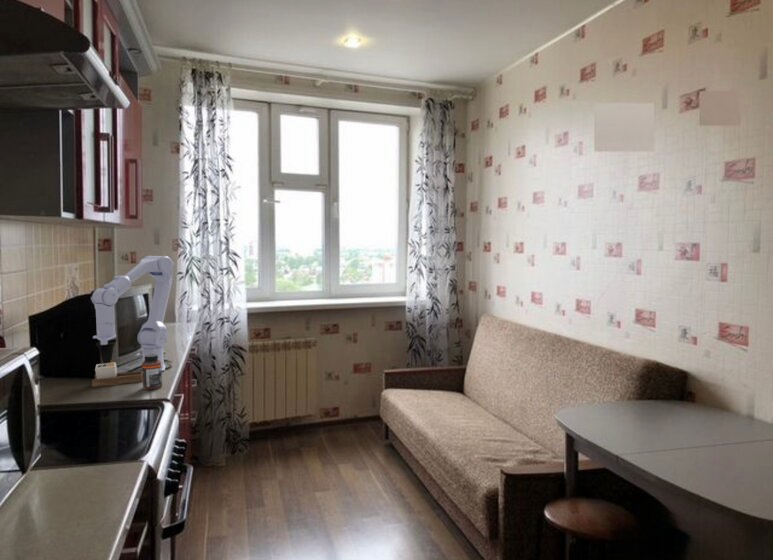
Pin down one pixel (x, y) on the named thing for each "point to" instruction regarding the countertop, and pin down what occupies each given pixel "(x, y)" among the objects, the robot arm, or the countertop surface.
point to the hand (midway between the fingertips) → (107, 361)
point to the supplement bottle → (151, 372)
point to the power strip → (106, 370)
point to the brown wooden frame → (119, 379)
